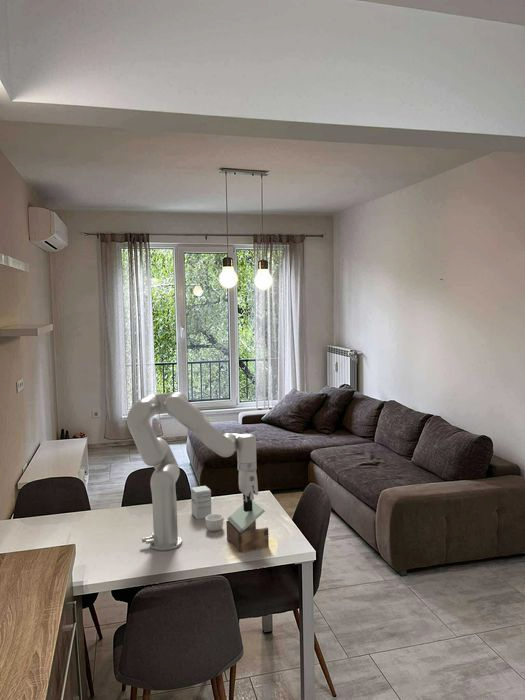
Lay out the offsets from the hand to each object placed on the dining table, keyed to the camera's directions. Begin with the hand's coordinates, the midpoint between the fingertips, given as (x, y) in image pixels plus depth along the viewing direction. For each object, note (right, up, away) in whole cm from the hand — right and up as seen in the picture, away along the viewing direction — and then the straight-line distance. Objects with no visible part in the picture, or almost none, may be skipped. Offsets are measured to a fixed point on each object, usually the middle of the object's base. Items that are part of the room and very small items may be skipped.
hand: (248, 510), depth 218 cm
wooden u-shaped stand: (0, -13, +2) cm, 14 cm away
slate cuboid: (0, -14, +4) cm, 14 cm away
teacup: (-15, -13, +17) cm, 26 cm away
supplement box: (-22, -12, +33) cm, 41 cm away
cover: (-1, -2, +1) cm, 3 cm away
